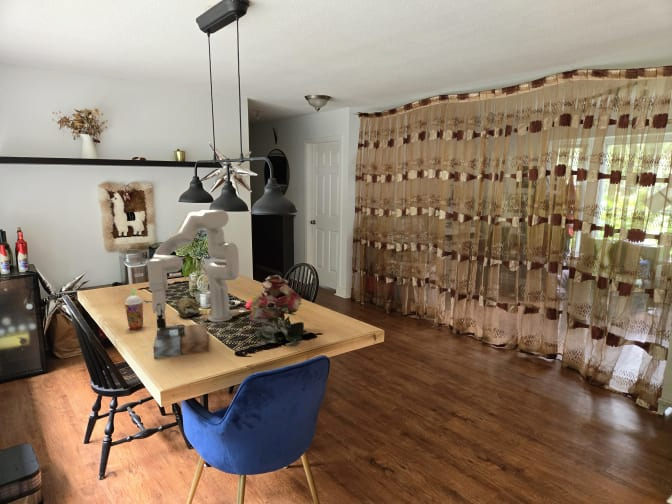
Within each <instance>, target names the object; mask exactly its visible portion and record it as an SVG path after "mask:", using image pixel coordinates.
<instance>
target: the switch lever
mask: <svg viewBox="0 0 672 504" xmlns="http://www.w3.org/2000/svg"><path fill="white" fill-rule="evenodd" d="M164 318H165V327H164V328H157V329H159V330H165V329H169V330H176V329H184V328H185V326H186V325H185V324H183V323H182V324H176V325H174V324H173V325H167V317H166V313H165V314H164Z"/></svg>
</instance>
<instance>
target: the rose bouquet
mask: <svg viewBox="0 0 672 504" xmlns="http://www.w3.org/2000/svg"><path fill="white" fill-rule="evenodd" d="M266 277H267V276H266ZM264 280H265V281H263V282H262V283H261V285H262V288H263V289H264V290H262V291H261V293H260V294H258V295H256V297H254V298H253V299H252V300H251V302H250V307H251V308H250V311H251V312H250V313H249V318H248V319H249V320H250V321H253V322H258V323H262V324H261V327H259V329H257V330H256V331H255V332H254V333H255V336H256V338H257V339H255V342H258V341H260V344H261V345H262V346H263V345H267V344H279V345H280V344H282V341H279V339H280V336H285V339H286V340H287V341H289V342H288V343H285V345H288V346H294V347H297V346H299V345H300V344H301V342H302V340H303V338H302V337H303V336H302V335H303V333H304V327H305V323H304V322H303V321H299V322H297V321H296V322H295V323H294V322H293V323H292V322H291V320H290V315H291V316H297V313H296V312H298V311H301V309H299V308H300V306H301V305H303V304H302V297H301V296H300V295H299V294H298V293H297V292H295V291H294V290H293V288H291V286H289V285H287V284H288V283H289V281H288V280H287V279H284V278H282V277H281V276H280V275H278V274H275V275H268V277H267V278H265V279H264ZM298 309H299V310H298ZM285 314H286V315H287V314H288V315H289V316H288V317H286V316H285ZM300 318H302V316H300ZM280 319H281V322H280ZM291 323H292V324H291ZM267 325H268V326H267Z"/></svg>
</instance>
